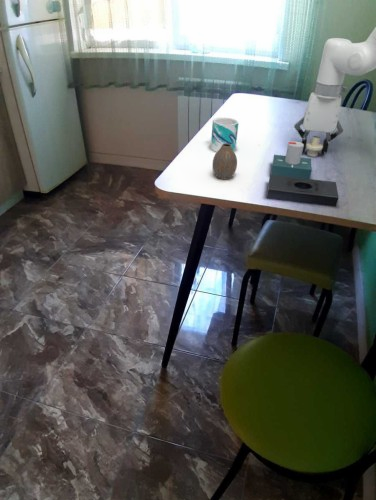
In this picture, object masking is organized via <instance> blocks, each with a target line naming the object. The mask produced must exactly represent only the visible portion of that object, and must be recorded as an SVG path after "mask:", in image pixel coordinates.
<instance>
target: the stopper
mask: <svg viewBox="0 0 376 500" xmlns="http://www.w3.org/2000/svg"><path fill="white" fill-rule="evenodd" d="M320 140H321V136H319V135H313V136H312V137H311V141H309V142H308V141H307V143H306V148H305V149H307V150H306V156H308V157H318V156H319V152H320V151H321V150H322V149H323V143H320Z"/></svg>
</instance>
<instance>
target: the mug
mask: <svg viewBox="0 0 376 500" xmlns="http://www.w3.org/2000/svg"><path fill="white" fill-rule="evenodd" d="M211 125H212V126H211V140H210V149H211V151H214V152H216V153H217V151H218V150H219V149H220V148H221V146H222V144H225V143H227V144H230V145H231V147H232V149H233V151H234V152H235V151H236V149H237V139H238V131H239V121H238V119H235V118H232V117H223V116H222V117H216V118H214V119H212V124H211Z"/></svg>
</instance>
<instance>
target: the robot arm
mask: <svg viewBox="0 0 376 500" xmlns="http://www.w3.org/2000/svg"><path fill="white" fill-rule="evenodd" d="M321 54H322V55H321V60H320V64H319V67H318V73H317V78H316V81H315V86H314V91H313V92H310V95H309V97H308V101H307V104H306V107H305V111H304V115H303V116H302V117H301V118H300V119H299V120H298V121H296V123H295V124H294V125H293V128H294V129H295V131H296V132H297V133H298V135H299V137H300V138H301V143H303V144H304V147H303V151H302V154H305V152H306V149H307V148H306V143H308V136H309V135H310V133H311V132H314V133H324V134H325V139H323V143H322V145H323V149H322V150H320V151H321V152H320V154H321V156H325V153H327V152H328V148H329V144H330V143H331V141H333V140H334V139H336V138H337V137H338V136H340V135H341V134H342V133H343V132H344V128H343V126H342V124H341V123H340V121H339V118H340V112H341V106H342V93H346V92H347V89H348V87H347V86H344V84H343V83H344V80H345V76H346V75H349V76H352V77H360V76H363V75H365V74H368V73H370V72H371V71H374V70H376V26H375V27H374V29H373V30H372V32H371V33H370V34H369V36H368V37H367V38H366V40H365V41H364V40H363V41H361V42H352V41H351V40H350V39H347V38H342V37H331V38H328V39H327V40H326V41H325V43H324V47H323V50H322V53H321ZM301 126H302V127H301ZM302 128H303V129H302ZM336 129H337V130H336Z"/></svg>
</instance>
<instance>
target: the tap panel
mask: <svg viewBox="0 0 376 500" xmlns="http://www.w3.org/2000/svg"><path fill="white" fill-rule="evenodd" d="M285 158H286V155H282V154H274V155H273V159H272V164H271V173H270V175H278V176H287V177H296V178H304V179H311V174H312V170H313V168H312V167H313V166H312V158H308V157H301V160H300V163H299V164H296V165H293V164H288V163H286V162H285Z"/></svg>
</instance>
